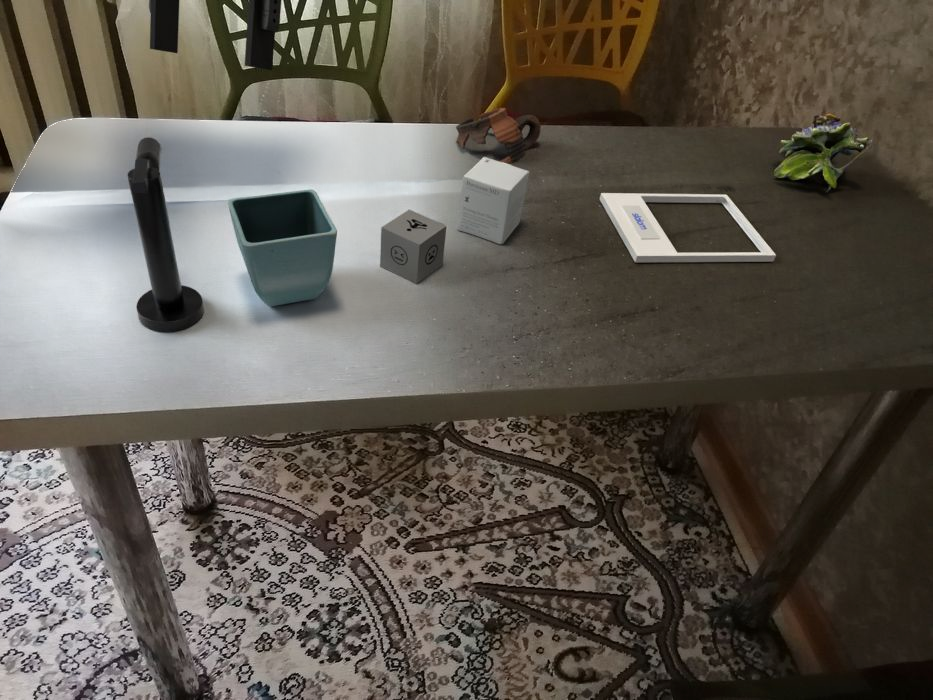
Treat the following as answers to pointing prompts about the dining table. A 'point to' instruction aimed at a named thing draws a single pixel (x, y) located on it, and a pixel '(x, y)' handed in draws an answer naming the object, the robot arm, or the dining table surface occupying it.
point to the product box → (492, 200)
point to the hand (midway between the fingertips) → (209, 59)
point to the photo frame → (652, 241)
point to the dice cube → (412, 246)
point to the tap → (159, 249)
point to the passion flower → (820, 149)
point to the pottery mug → (501, 132)
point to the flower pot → (285, 244)
